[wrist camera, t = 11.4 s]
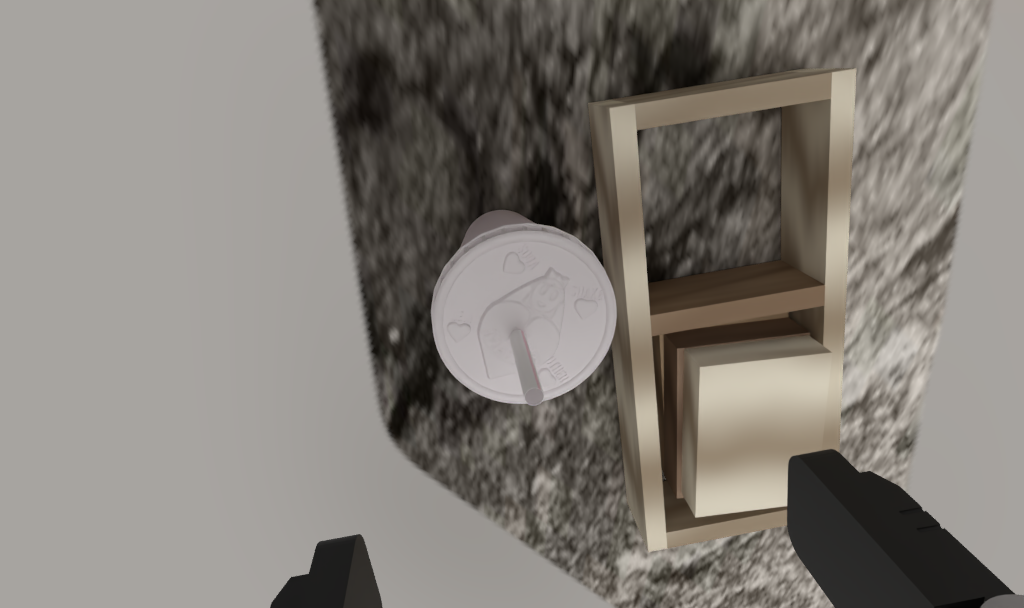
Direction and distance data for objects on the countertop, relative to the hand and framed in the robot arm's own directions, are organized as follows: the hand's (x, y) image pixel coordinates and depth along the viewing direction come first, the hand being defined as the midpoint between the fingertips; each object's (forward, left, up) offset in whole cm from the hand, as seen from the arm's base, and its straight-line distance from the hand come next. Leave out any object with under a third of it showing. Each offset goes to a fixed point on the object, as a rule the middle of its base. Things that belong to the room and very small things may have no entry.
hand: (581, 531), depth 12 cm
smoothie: (0, 0, -20) cm, 20 cm away
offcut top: (+10, +10, -17) cm, 22 cm away
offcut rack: (+5, +10, -20) cm, 23 cm away
